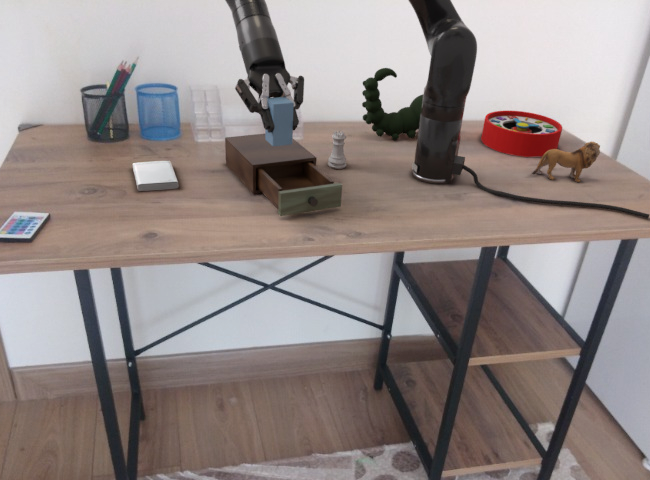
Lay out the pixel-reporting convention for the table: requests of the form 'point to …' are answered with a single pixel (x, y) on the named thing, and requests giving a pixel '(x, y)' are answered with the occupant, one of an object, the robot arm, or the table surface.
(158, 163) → the hard drive
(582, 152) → the lion figurine
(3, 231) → the table surface
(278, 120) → the slate block
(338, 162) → the rook chess piece
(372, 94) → the toy figurine
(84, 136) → the table surface
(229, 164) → the cabinet
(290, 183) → the drawer
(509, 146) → the toy clock
